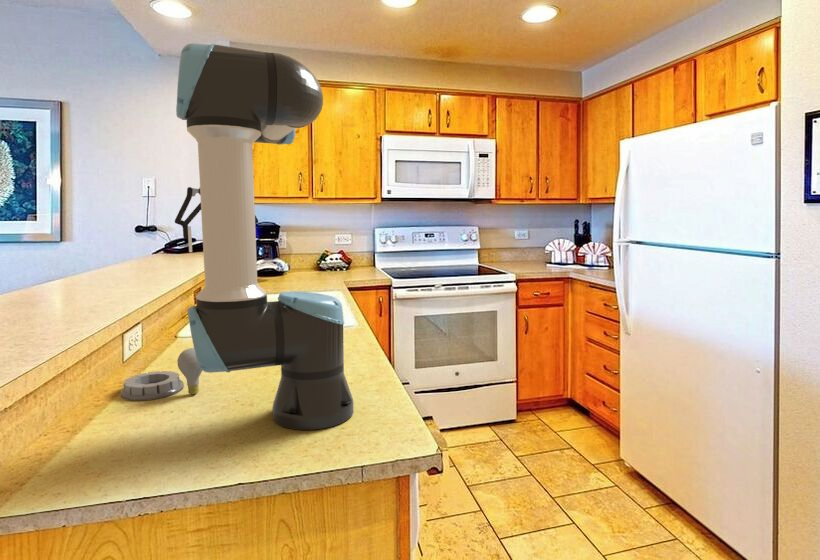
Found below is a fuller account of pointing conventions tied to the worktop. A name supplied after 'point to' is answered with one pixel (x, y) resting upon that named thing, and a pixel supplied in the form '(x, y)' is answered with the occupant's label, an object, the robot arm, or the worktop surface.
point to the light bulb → (190, 369)
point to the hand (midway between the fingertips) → (218, 251)
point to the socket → (151, 386)
